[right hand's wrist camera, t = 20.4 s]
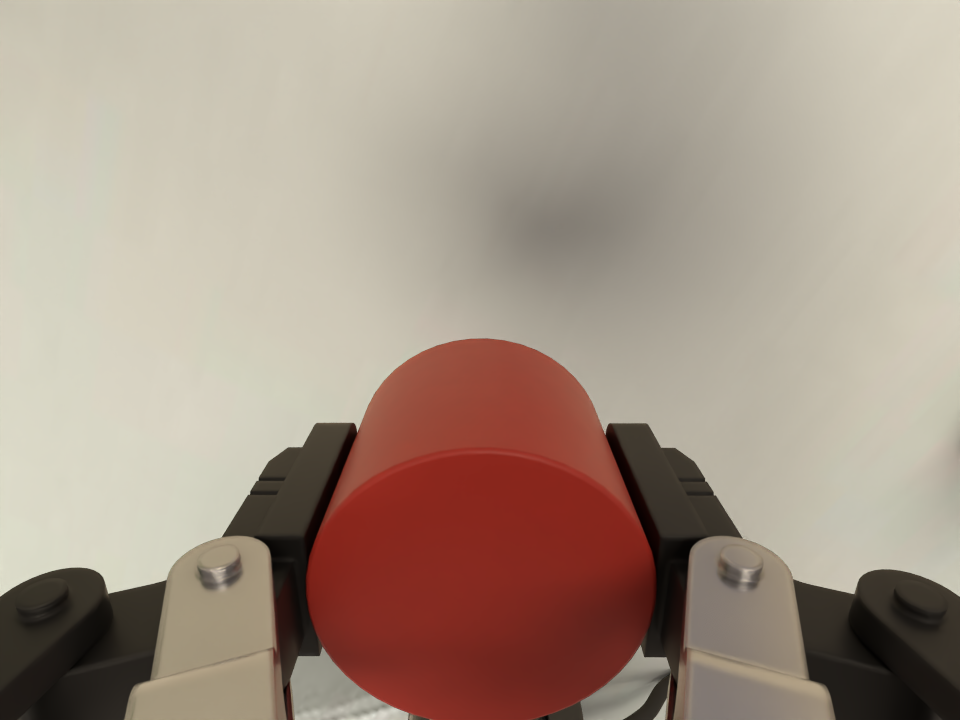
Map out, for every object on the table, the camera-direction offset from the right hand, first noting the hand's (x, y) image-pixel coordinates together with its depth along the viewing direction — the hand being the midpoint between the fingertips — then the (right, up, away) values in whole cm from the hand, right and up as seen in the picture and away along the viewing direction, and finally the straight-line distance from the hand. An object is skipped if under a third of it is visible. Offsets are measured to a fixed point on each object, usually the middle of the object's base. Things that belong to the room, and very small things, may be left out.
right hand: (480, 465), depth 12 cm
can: (0, 0, 0) cm, 1 cm away
